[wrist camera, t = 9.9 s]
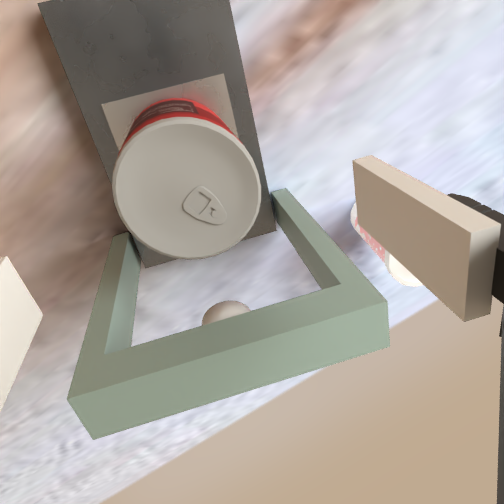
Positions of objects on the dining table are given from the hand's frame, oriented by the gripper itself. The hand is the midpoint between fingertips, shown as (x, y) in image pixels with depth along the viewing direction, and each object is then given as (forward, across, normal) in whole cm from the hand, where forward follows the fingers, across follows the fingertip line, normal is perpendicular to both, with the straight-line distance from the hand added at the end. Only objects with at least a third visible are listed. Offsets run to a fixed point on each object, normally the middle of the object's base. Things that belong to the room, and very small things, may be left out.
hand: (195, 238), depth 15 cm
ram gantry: (+19, 0, -8) cm, 21 cm away
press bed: (+20, 0, 0) cm, 20 cm away
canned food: (+17, 0, -1) cm, 17 cm away
